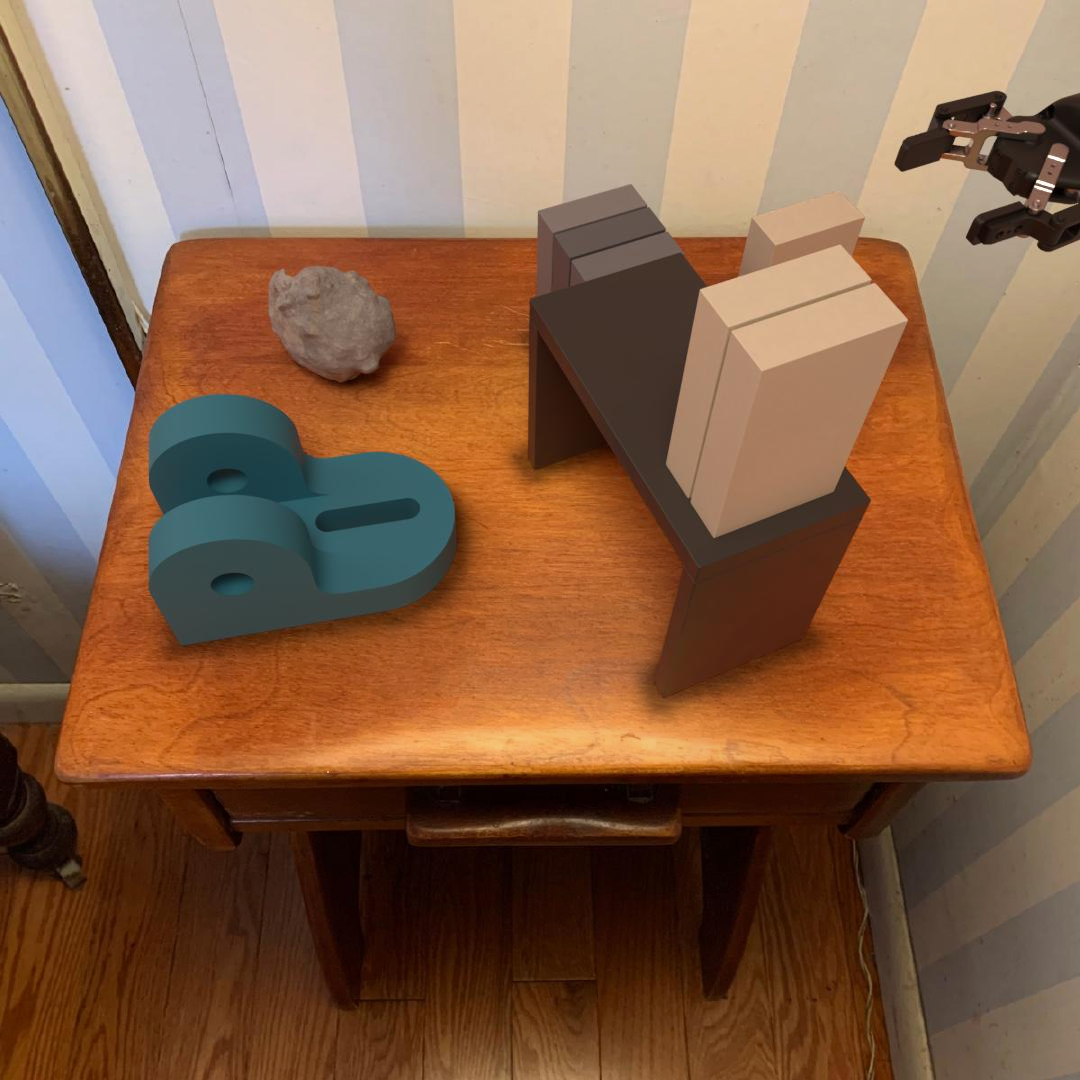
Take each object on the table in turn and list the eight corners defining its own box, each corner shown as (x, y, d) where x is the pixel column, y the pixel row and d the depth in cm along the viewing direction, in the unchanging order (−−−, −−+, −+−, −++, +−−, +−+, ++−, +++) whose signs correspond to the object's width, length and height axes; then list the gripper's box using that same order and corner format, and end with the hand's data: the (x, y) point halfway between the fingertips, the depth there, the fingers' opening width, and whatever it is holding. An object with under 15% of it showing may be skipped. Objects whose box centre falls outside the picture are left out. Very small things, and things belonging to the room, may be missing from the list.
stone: (403, 332, 78) (389, 227, 70) (402, 400, 74) (387, 297, 66) (280, 336, 78) (251, 231, 69) (273, 405, 74) (241, 302, 66)
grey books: (663, 380, 76) (685, 253, 66) (578, 409, 74) (587, 284, 64) (617, 312, 80) (631, 183, 70) (535, 339, 78) (537, 210, 68)
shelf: (803, 639, 64) (872, 500, 52) (662, 698, 62) (698, 568, 49) (653, 413, 74) (681, 251, 62) (527, 458, 72) (529, 298, 59)
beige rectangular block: (821, 344, 78) (865, 216, 68) (742, 371, 76) (775, 245, 66) (800, 318, 80) (840, 189, 70) (721, 344, 78) (751, 216, 68)
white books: (833, 492, 52) (909, 319, 42) (713, 538, 50) (761, 371, 40) (781, 422, 54) (840, 243, 44) (665, 464, 53) (699, 288, 43)
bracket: (181, 645, 63) (126, 555, 55) (178, 508, 69) (128, 406, 60) (469, 596, 66) (461, 502, 57) (444, 467, 71) (433, 363, 62)
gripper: (1074, 37, 76) (892, 88, 72) (1214, 149, 69) (1022, 212, 65) (1031, 126, 83) (862, 177, 79) (1156, 237, 76) (978, 299, 72)
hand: (935, 193), depth 72 cm, fingers open, 8 cm apart
